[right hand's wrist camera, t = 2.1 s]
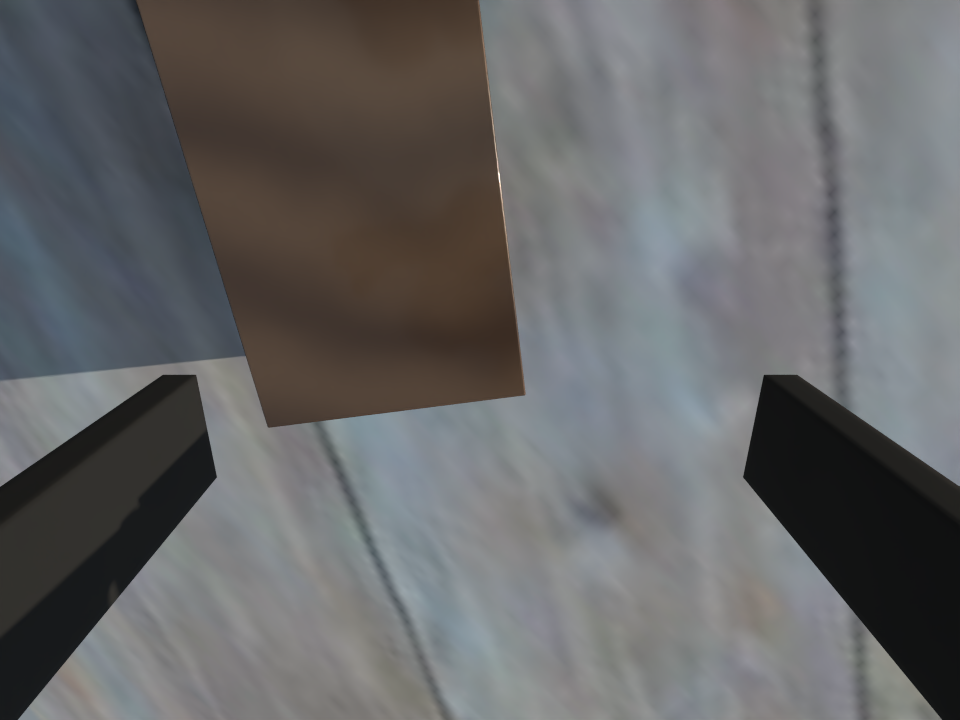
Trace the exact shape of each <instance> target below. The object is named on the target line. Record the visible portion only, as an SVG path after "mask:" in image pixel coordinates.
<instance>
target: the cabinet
mask: <svg viewBox="0 0 960 720" xmlns="http://www.w3.org/2000/svg"><path fill="white" fill-rule="evenodd" d="M136 2H137V6H138V9H139V12H140V15H141V18H142V22H143V25H144V28H145V31H146V35H147V38H148V41H149V44H150V48H151V51H152V54H153V57H154V60H155V64H156V67H157V70H158V73H159V77H160V80H161V83H162V86H163V90H164V93H165V96H166V99H167V103H168V106H169V109H170V112H171V115H172V119H173V122H174V125H175V128H176V132H177V135H178V138H179V141H180V145H181V148H182V151H183V154H184V157H185V161H186V164H187V167H188V170H189V174H190V177H191V180H192V183H193V187H194V190H195V193H196V196H197V200H198V203H199V206H200V209H201V212H202V216H203V219H204V222H205V225H206V229H207V232H208V235H209V238H210V242H211V245H212V248H213V251H214V254H215V258H216V261H217V264H218V267H219V271H220V274H221V277H222V280H223V284H224V287H225V290H226V293H227V297H228V300H229V303H230V306H231V309H232V313H233V316H234V319H235V322H236V326H237V329H238V332H239V335H240V339H241V342H242V345H243V348H244V351H245V355H246V358H247V361H248V364H249V368H250V371H251V374H252V377H253V381H254V384H255V387H256V390H257V393H258V397H259V400H260V403H261V406H262V410H263V413H264V416H265V419H266V423H267V426H268V427H277V426H285V425H293V424H301V423H309V422H317V421H325V420H333V419H341V418H349V417H356V416H364V415H372V414H380V413H388V412H396V411H404V410H412V409H420V408H428V407H436V406H444V405H451V404H459V403H467V402H475V401H483V400H491V399H499V398H507V397H515V396H523V395H525V394H526V393H525V385H524V376H523V368H522V360H521V351H520V343H519V334H518V326H517V317H516V309H515V300H514V292H513V284H512V275H511V267H510V258H509V250H508V241H507V233H506V225H505V216H504V208H503V199H502V191H501V182H500V174H499V166H498V157H497V149H496V140H495V132H494V123H493V115H492V106H491V98H490V90H489V81H488V73H487V64H486V56H485V47H484V39H483V31H482V22H481V14H480V5H479V0H136Z"/></svg>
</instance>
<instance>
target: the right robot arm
mask: <svg viewBox="0 0 960 720" xmlns="http://www.w3.org/2000/svg"><path fill="white" fill-rule="evenodd" d="M216 478H217V476H216V471H215V466H214V461H213V456H212V451H211V446H210V441H209V436H208V431H207V426H206V422H205V417H204V412H203V407H202V402H201V397H200V392H199V387H198V382H197V377H196V375H162V376H161V377H159V378H158V379H156V380H155V381H153V382H152V383H150V384H149V385H148V386H146V387H145V388H143V389H142V390H140V391H139V392H137V393H136V394H134V395H133V396H132V397H130V398H129V399H127V400H126V401H124V402H123V403H121V404H120V405H118V406H117V407H116V408H114V409H113V410H111V411H110V412H108V413H107V414H105V415H104V416H103V417H101V418H100V419H98V420H97V421H95V422H94V423H92V424H91V425H89V426H88V427H87V428H85V429H84V430H82V431H81V432H79V433H78V434H76V435H75V436H73V437H72V438H71V439H69V440H68V441H66V442H65V443H63V444H62V445H60V446H59V447H57V448H56V449H55V450H53V451H52V452H50V453H49V454H47V455H46V456H44V457H43V458H41V459H40V460H39V461H37V462H36V463H34V464H33V465H31V466H30V467H28V468H27V469H26V470H24V471H23V472H21V473H20V474H18V475H17V476H15V477H14V478H12V479H11V480H10V481H8V482H7V483H5V484H4V485H2V486H1V487H0V720H18V719H19V718H20V716H21V715H22V714H23V713H24V711H25V710H26V709H27V708H28V707H29V705H30V704H31V703H32V702H33V700H34V699H35V698H36V697H37V696H38V694H39V693H40V692H41V691H42V690H43V688H44V687H45V686H46V685H47V683H48V682H49V681H50V680H51V679H52V677H53V676H54V675H55V674H56V672H57V671H58V670H59V669H60V668H61V666H62V665H63V664H64V663H65V662H66V660H67V659H68V658H69V657H70V655H71V654H72V653H73V652H74V651H75V649H76V648H77V647H78V646H79V644H80V643H81V642H82V641H83V640H84V638H85V637H86V636H87V635H88V633H89V632H90V631H91V630H92V629H93V627H94V626H95V625H96V624H97V623H98V621H99V620H100V619H101V618H102V616H103V615H104V614H105V613H106V612H107V610H108V609H109V608H110V607H111V605H112V604H113V603H114V602H115V601H116V599H117V598H118V597H119V596H120V595H121V593H122V592H123V591H124V590H125V588H126V587H127V586H128V585H129V584H130V582H131V581H132V580H133V579H134V577H135V576H136V575H137V574H138V573H139V571H140V570H141V569H142V568H143V566H144V565H145V564H146V563H147V562H148V560H149V559H150V558H151V557H152V556H153V554H154V553H155V552H156V551H157V549H158V548H159V547H160V546H161V545H162V543H163V542H164V541H165V540H166V538H167V537H168V536H169V535H170V534H171V532H172V531H173V530H174V529H175V528H176V526H177V525H178V524H179V523H180V521H181V520H182V519H183V518H184V517H185V515H186V514H187V513H188V512H189V510H190V509H191V508H192V507H193V506H194V504H195V503H196V502H197V501H198V500H199V498H200V497H201V496H202V495H203V493H204V492H205V491H206V490H207V489H208V487H209V486H210V485H211V484H212V482H213V481H214V480H215V479H216ZM743 478H744V479H745V480H746V481H747V482H748V484H749V485H750V486H751V487H752V489H753V490H754V491H755V492H756V493H757V495H758V496H759V497H760V498H761V500H762V501H763V502H764V503H765V504H766V506H767V507H768V508H769V509H770V510H771V512H772V513H773V514H774V515H775V517H776V518H777V519H778V520H779V521H780V523H781V524H782V525H783V526H784V528H785V529H786V530H787V531H788V532H789V534H790V535H791V536H792V537H793V538H794V540H795V541H796V542H797V543H798V545H799V546H800V547H801V548H802V549H803V551H804V552H805V553H806V554H807V556H808V557H809V558H810V559H811V560H812V562H813V563H814V564H815V565H816V566H817V568H818V569H819V570H820V571H821V573H822V574H823V575H824V576H825V577H826V579H827V580H828V581H829V582H830V584H831V585H832V586H833V587H834V588H835V590H836V591H837V592H838V593H839V595H840V596H841V597H842V598H843V599H844V601H845V602H846V603H847V604H848V605H849V607H850V608H851V609H852V610H853V612H854V613H855V614H856V615H857V616H858V618H859V619H860V620H861V621H862V623H863V624H864V625H865V626H866V627H867V629H868V630H869V631H870V632H871V633H872V635H873V636H874V637H875V638H876V640H877V641H878V642H879V643H880V644H881V646H882V647H883V648H884V649H885V651H886V652H887V653H888V654H889V655H890V657H891V658H892V659H893V660H894V662H895V663H896V664H897V665H898V666H899V668H900V669H901V670H902V671H903V672H904V674H905V675H906V676H907V677H908V679H909V680H910V681H911V682H912V683H913V685H914V686H915V687H916V688H917V690H918V691H919V692H920V693H921V694H922V696H923V697H924V698H925V699H926V700H927V702H928V703H929V704H930V705H931V707H932V708H933V709H934V710H935V711H936V713H937V714H938V715H939V716H940V718H941V719H942V720H960V486H958V485H956V484H955V483H953V482H952V481H950V480H949V479H948V478H946V477H945V476H943V475H942V474H940V473H939V472H937V471H936V470H934V469H933V468H932V467H930V466H929V465H927V464H926V463H924V462H923V461H921V460H920V459H919V458H917V457H916V456H914V455H913V454H911V453H910V452H908V451H907V450H905V449H904V448H903V447H901V446H900V445H898V444H897V443H895V442H894V441H892V440H891V439H889V438H888V437H887V436H885V435H884V434H882V433H881V432H879V431H878V430H876V429H875V428H873V427H872V426H871V425H869V424H868V423H866V422H865V421H863V420H862V419H860V418H859V417H857V416H856V415H855V414H853V413H852V412H850V411H849V410H847V409H846V408H844V407H843V406H842V405H840V404H839V403H837V402H836V401H834V400H833V399H831V398H830V397H828V396H827V395H826V394H824V393H823V392H821V391H820V390H818V389H817V388H815V387H814V386H812V385H811V384H810V383H808V382H807V381H805V380H804V379H802V378H801V377H799V376H798V375H764V377H763V382H762V387H761V392H760V397H759V402H758V407H757V412H756V417H755V422H754V426H753V431H752V436H751V441H750V446H749V451H748V456H747V461H746V466H745V471H744V476H743Z"/></svg>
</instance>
